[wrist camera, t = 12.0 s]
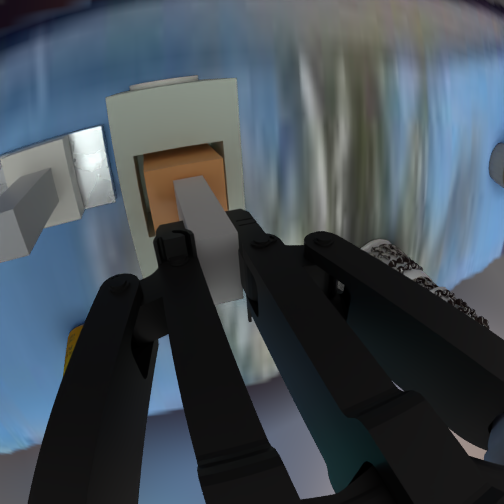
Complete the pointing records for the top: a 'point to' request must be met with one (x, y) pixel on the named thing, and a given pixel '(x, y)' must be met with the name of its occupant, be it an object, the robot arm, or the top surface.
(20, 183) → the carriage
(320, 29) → the top surface
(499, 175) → the coffee cup
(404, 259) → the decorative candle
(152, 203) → the button
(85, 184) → the rail
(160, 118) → the white block
